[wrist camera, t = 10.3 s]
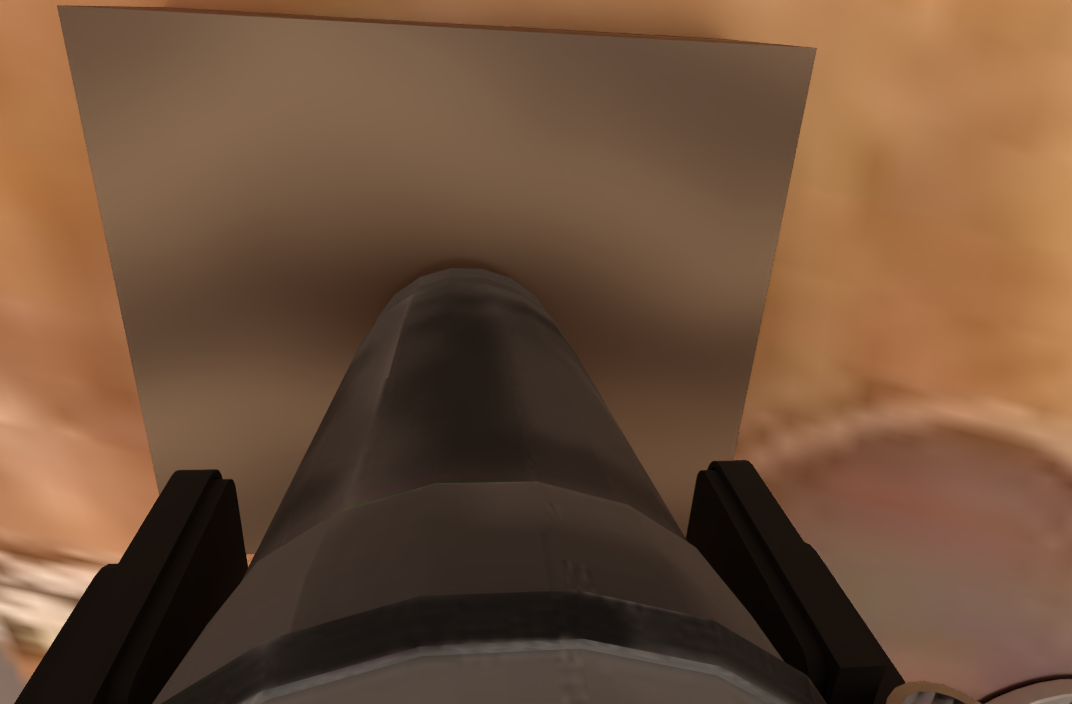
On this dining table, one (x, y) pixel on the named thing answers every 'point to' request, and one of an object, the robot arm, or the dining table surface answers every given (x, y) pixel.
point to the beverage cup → (477, 539)
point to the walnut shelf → (428, 214)
